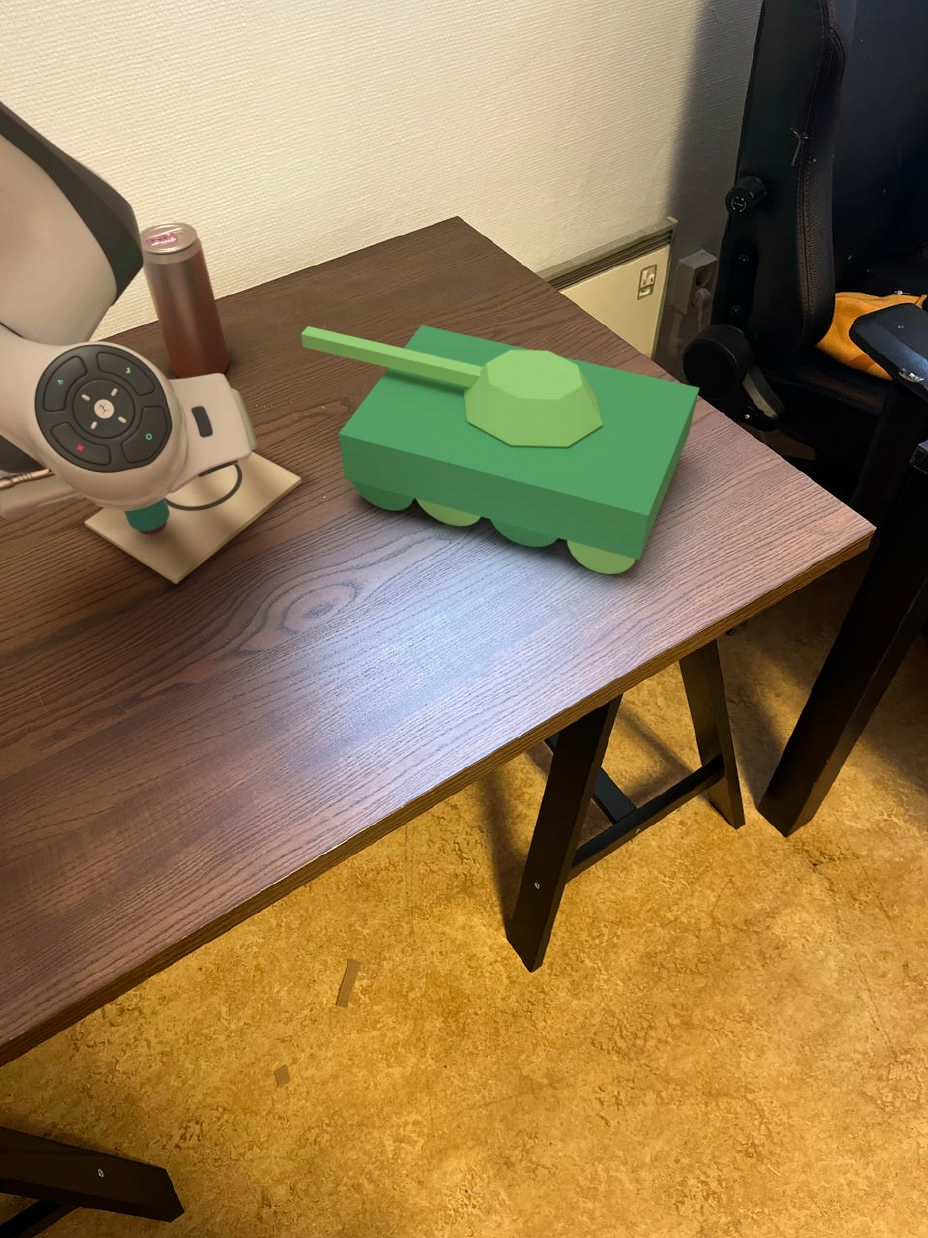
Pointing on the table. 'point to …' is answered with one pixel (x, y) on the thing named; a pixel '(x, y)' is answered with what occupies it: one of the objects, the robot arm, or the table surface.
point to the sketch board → (200, 516)
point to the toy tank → (515, 441)
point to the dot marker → (149, 518)
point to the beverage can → (183, 299)
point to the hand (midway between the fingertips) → (131, 468)
